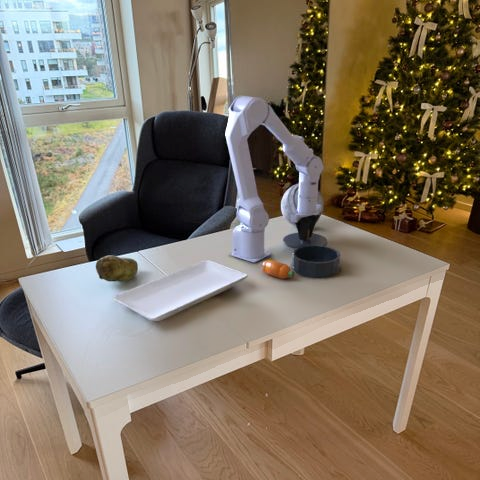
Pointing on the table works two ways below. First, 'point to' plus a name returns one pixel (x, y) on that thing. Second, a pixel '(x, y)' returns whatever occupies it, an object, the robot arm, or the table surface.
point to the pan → (316, 261)
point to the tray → (180, 290)
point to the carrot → (277, 269)
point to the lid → (315, 239)
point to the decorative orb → (295, 203)
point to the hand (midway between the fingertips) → (305, 238)
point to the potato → (116, 268)
